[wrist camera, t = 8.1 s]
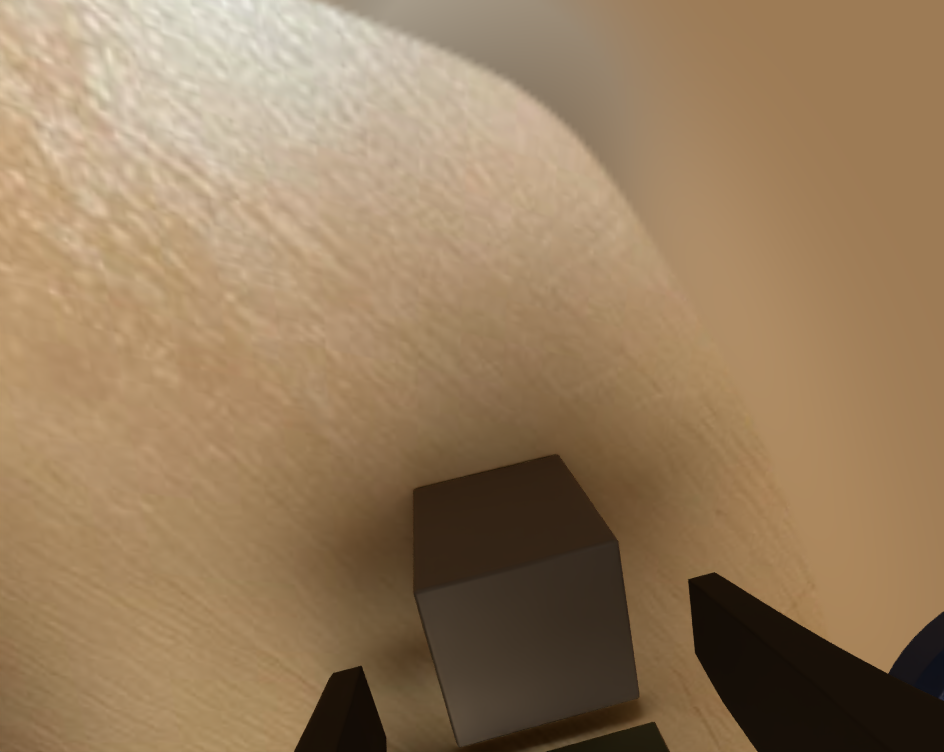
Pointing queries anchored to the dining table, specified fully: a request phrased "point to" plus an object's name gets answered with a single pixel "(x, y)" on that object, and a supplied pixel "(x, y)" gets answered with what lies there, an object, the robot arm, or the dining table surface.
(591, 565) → the block
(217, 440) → the dining table surface
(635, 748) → the drawer
